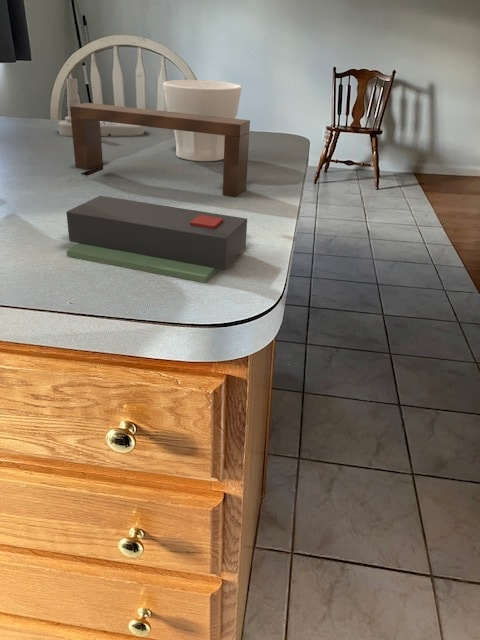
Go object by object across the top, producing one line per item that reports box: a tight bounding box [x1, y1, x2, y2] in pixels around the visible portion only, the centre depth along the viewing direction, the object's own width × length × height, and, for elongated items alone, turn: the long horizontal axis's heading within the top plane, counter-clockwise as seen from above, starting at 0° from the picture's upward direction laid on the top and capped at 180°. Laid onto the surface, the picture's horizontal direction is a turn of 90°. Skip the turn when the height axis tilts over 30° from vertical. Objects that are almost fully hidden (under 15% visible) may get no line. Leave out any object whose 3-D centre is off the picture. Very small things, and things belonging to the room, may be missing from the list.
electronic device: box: [58, 77, 145, 137], centre depth 97 cm, size 5×10×15 cm
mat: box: [66, 243, 220, 283], centre depth 53 cm, size 14×10×1 cm
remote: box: [65, 195, 248, 271], centre depth 52 cm, size 16×6×3 cm, turn 72°
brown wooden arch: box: [70, 102, 251, 198], centre depth 73 cm, size 24×4×9 cm, turn 72°
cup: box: [162, 79, 243, 163], centre depth 88 cm, size 12×12×11 cm
